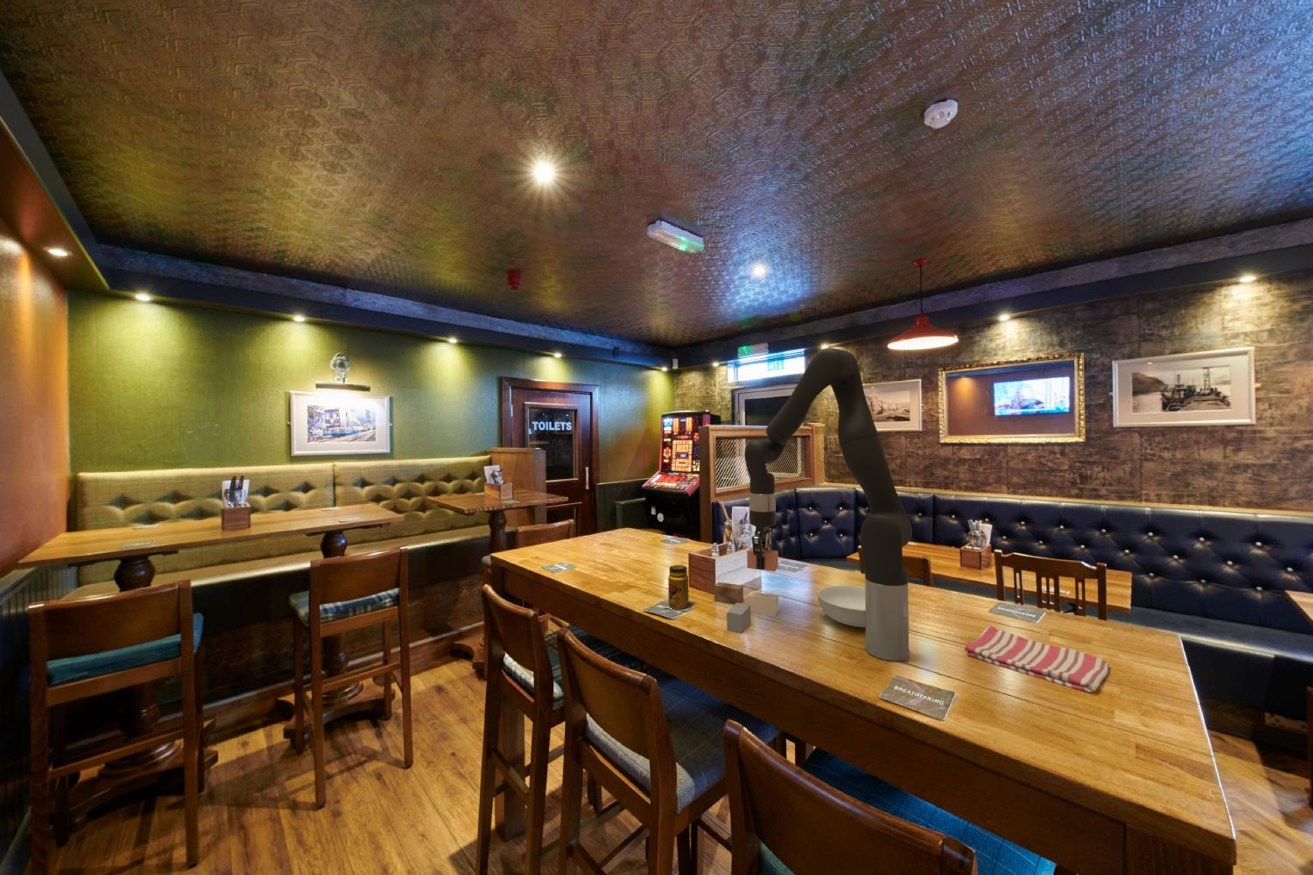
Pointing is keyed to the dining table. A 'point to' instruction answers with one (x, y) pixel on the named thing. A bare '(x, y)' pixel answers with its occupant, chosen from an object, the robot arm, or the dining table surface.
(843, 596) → the serving bowl
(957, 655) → the dining table surface
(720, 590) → the walnut brick
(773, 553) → the terracotta brick
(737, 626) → the slate brick
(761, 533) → the robot arm
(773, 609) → the cream brick
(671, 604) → the condiment
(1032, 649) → the dish towel
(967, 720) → the dining table surface
